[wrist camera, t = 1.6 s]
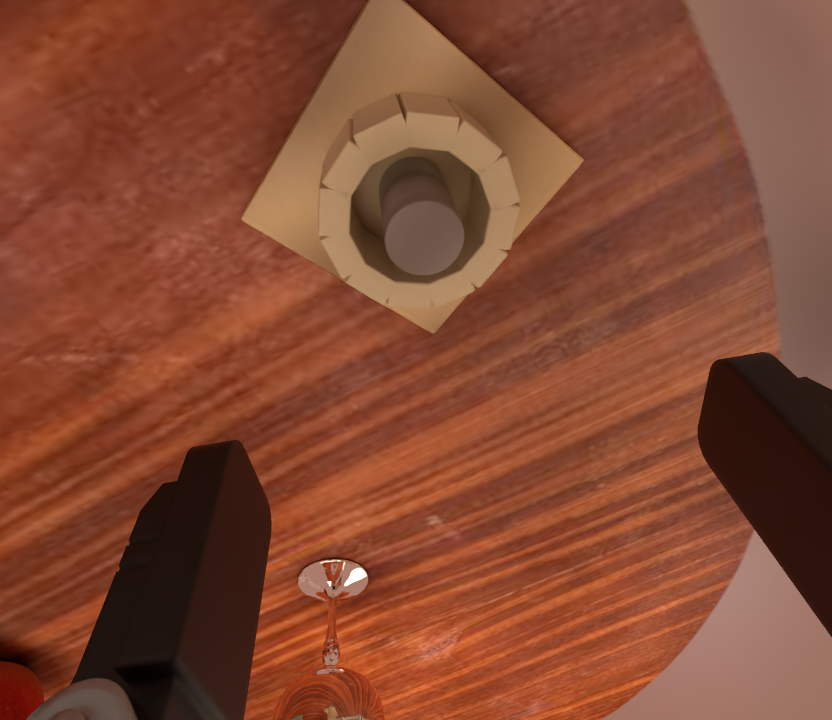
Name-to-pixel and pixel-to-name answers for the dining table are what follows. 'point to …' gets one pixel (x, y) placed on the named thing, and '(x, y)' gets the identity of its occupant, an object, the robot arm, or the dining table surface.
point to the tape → (388, 135)
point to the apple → (18, 692)
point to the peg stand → (404, 151)
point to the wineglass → (331, 655)
